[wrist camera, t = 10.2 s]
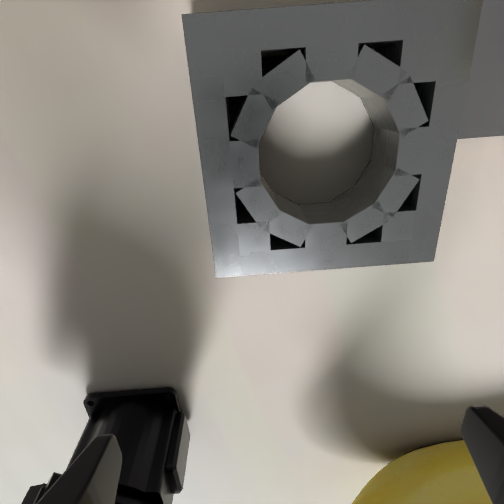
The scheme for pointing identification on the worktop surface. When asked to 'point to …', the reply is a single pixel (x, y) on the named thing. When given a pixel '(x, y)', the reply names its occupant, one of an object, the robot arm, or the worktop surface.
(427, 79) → the housing
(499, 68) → the mat
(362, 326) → the worktop surface
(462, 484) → the banana
